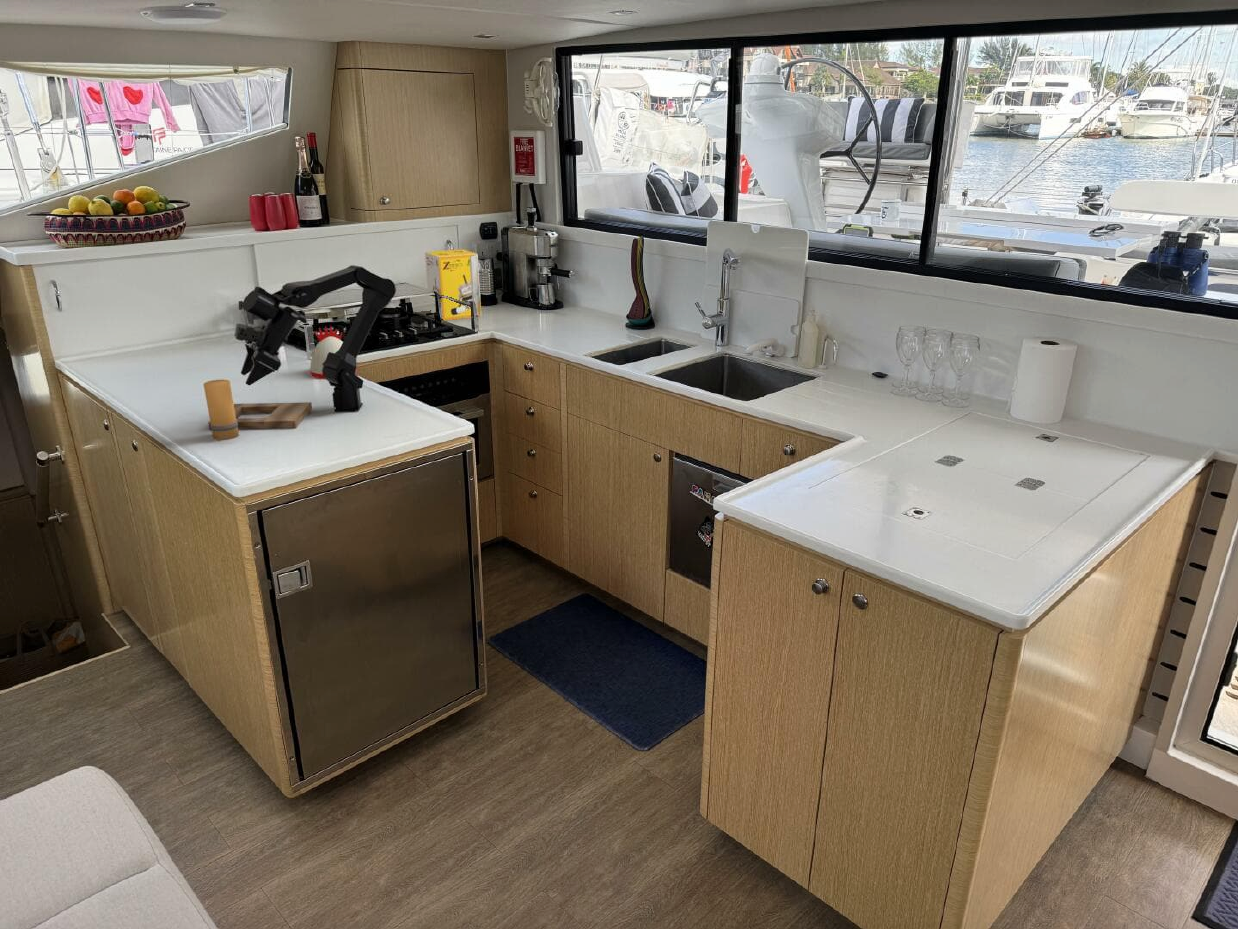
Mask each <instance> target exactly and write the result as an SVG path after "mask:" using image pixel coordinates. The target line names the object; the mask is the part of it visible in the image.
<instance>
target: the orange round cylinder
mask: <svg viewBox="0 0 1238 929" xmlns="http://www.w3.org/2000/svg"><path fill="white" fill-rule="evenodd" d="M203 389H204V394H205V400H206V405H207V410H208V416H209V421H210V422H211V423H210V427H211V430H210V431H212V433H211V434H212V438H213V440H217V441H227V440H231V439H235V438H237V437H239V436H240V432H239V429H238V421H237V420H236V415H235V409H234V404H235V403H234V398H233V397H234V396H233V392H232V387H231V381H230V380H229V379H214V380H208V381H206V382H204V383H203Z"/></svg>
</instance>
